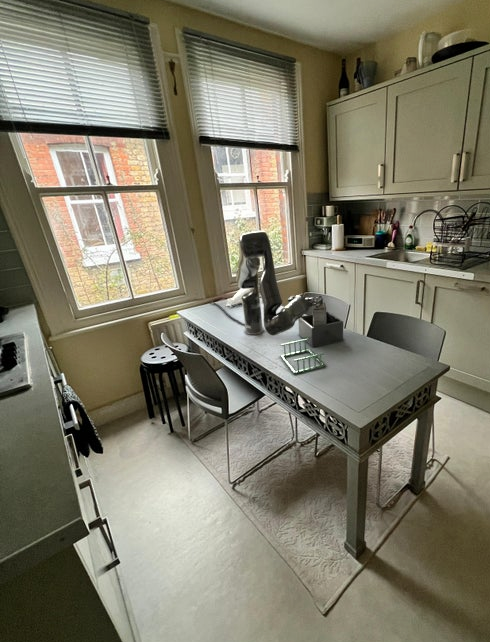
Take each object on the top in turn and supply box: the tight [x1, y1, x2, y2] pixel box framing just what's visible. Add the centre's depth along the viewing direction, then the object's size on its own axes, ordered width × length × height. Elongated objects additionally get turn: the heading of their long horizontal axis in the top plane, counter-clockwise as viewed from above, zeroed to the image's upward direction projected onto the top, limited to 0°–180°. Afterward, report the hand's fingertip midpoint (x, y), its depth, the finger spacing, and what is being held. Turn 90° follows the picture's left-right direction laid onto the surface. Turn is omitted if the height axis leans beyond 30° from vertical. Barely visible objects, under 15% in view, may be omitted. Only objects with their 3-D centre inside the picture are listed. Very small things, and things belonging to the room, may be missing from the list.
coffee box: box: [312, 301, 327, 327], centre depth 155 cm, size 9×6×16 cm
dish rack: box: [280, 338, 326, 375], centre depth 136 cm, size 17×14×6 cm
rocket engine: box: [225, 288, 251, 308], centre depth 213 cm, size 12×12×18 cm
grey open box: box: [297, 310, 344, 348], centre depth 157 cm, size 17×17×10 cm
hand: (311, 296), depth 140 cm, fingers open, 8 cm apart
